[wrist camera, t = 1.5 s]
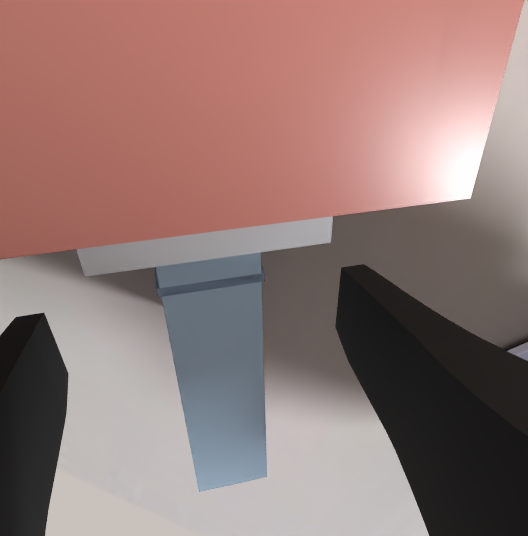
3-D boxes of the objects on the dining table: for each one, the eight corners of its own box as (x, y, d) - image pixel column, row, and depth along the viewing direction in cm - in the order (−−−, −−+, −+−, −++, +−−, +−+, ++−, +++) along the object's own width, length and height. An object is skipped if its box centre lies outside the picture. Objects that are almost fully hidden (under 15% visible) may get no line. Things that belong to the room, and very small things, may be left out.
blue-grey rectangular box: (229, 313, 15) (269, 476, 10) (178, 321, 14) (196, 492, 10) (175, -329, 7) (240, -810, 3) (66, -337, 7) (-79, -893, 2)
